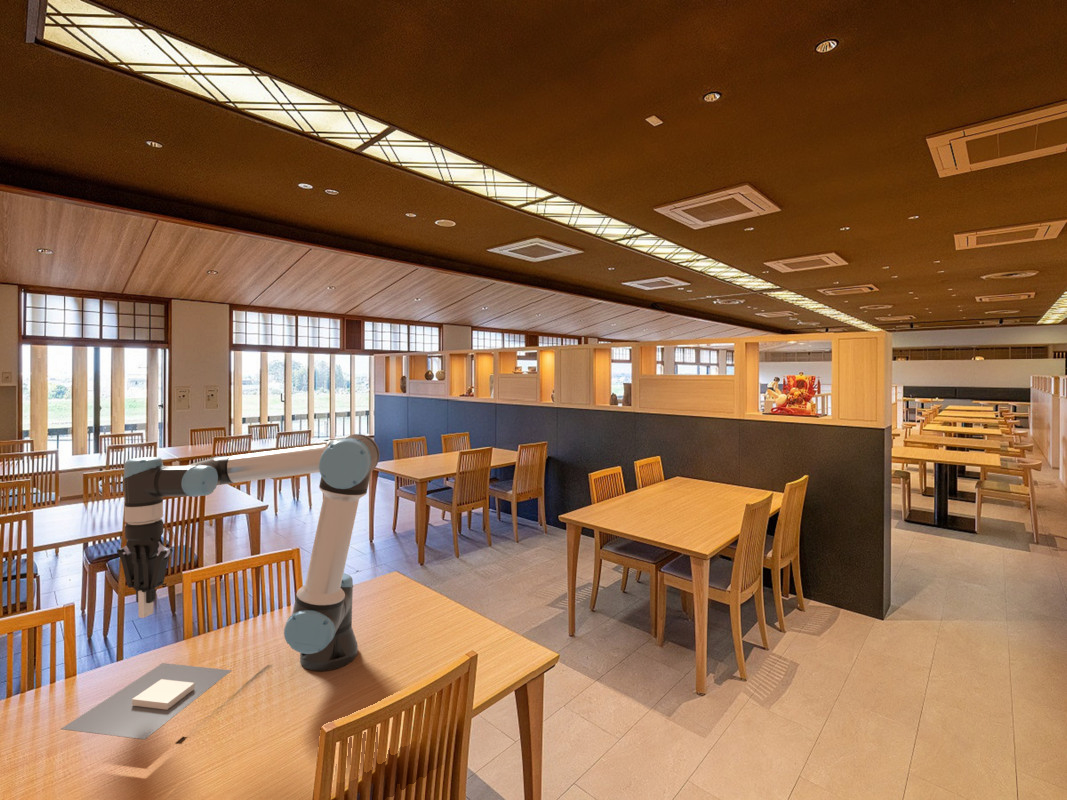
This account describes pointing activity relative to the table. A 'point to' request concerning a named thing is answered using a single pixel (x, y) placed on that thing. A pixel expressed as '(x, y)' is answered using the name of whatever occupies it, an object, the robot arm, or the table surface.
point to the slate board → (143, 721)
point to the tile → (163, 694)
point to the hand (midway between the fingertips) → (146, 615)
